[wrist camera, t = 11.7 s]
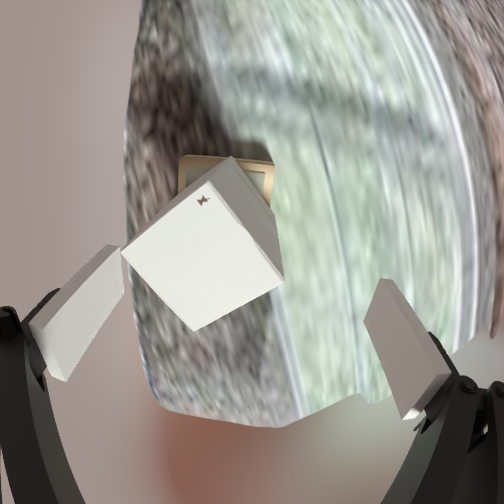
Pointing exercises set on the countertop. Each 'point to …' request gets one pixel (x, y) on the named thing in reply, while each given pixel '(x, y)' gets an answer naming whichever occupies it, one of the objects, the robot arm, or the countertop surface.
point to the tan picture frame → (200, 164)
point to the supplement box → (210, 247)
